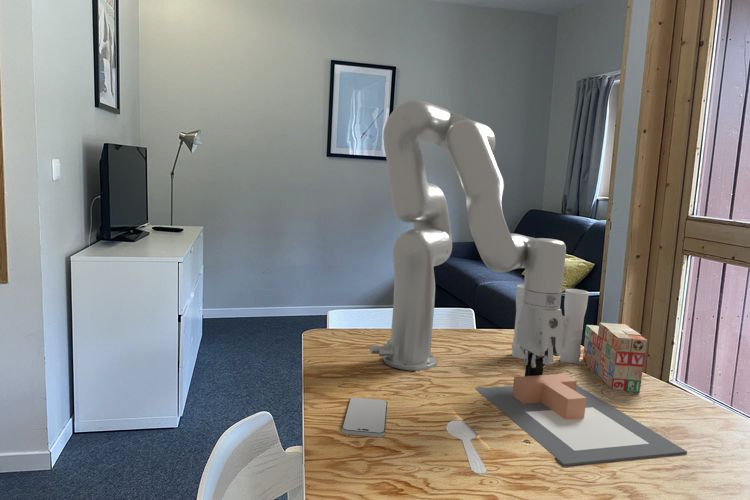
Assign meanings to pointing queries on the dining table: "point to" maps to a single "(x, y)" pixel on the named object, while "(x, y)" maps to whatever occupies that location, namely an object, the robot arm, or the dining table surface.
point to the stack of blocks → (615, 355)
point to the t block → (551, 394)
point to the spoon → (467, 443)
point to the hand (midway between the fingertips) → (532, 383)
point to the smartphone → (365, 417)
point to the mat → (583, 430)
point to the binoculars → (570, 322)
